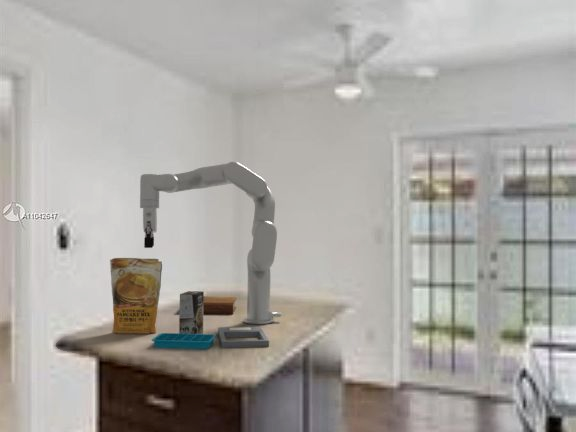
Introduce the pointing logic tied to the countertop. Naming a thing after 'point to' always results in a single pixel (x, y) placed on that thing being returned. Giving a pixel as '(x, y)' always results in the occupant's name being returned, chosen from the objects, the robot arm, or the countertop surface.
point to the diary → (219, 305)
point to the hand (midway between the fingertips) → (149, 246)
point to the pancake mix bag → (135, 294)
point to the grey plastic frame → (242, 332)
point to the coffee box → (191, 312)
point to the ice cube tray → (183, 340)
